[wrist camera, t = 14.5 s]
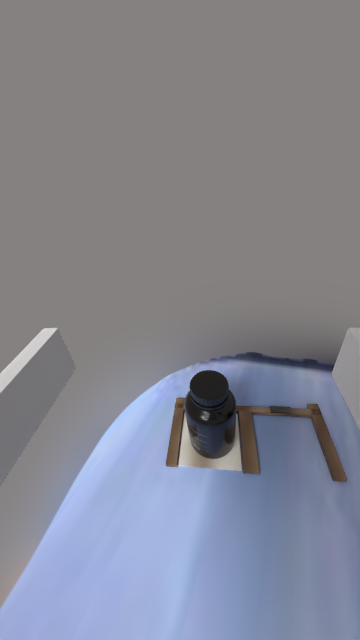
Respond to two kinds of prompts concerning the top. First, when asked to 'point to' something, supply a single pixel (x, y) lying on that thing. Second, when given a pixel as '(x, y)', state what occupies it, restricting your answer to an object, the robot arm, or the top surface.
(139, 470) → the top surface
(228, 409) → the supplement bottle
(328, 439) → the flat wooden frame
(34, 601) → the top surface
